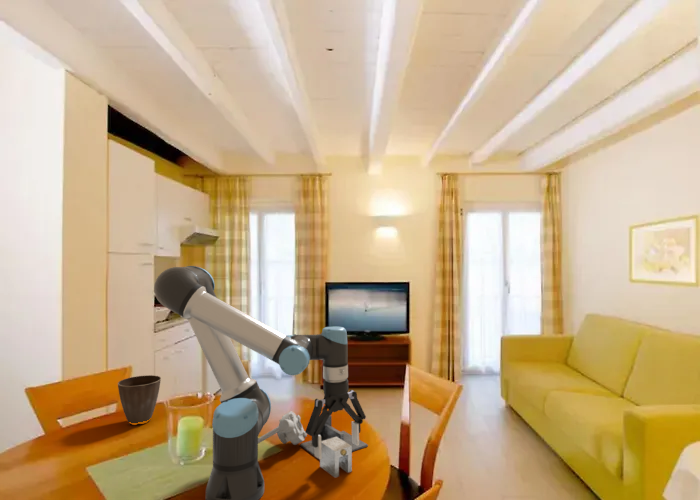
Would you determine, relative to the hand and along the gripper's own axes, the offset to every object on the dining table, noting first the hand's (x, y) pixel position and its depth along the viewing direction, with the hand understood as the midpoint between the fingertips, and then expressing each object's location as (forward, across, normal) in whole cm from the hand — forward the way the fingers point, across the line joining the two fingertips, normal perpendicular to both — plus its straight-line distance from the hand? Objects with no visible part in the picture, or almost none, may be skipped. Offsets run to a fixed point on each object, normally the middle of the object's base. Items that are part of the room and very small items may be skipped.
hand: (337, 450), depth 124 cm
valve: (+5, -9, +24) cm, 26 cm away
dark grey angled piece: (+5, +8, +13) cm, 16 cm away
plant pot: (+4, -42, +75) cm, 86 cm away
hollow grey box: (+5, 0, 0) cm, 5 cm away
